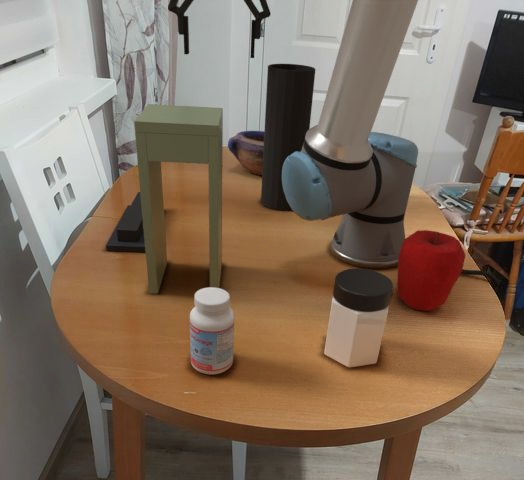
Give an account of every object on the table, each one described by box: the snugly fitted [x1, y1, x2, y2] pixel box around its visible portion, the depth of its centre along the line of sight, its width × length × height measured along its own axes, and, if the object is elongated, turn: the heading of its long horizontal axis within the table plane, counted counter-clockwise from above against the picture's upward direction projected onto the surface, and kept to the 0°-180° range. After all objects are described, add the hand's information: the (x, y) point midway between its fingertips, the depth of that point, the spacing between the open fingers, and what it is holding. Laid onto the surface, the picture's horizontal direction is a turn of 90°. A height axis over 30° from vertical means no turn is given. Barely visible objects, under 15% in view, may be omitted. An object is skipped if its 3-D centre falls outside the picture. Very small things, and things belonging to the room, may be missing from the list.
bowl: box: [227, 130, 265, 176], centre depth 146 cm, size 18×18×10 cm
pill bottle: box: [189, 286, 235, 375], centre depth 71 cm, size 6×6×11 cm
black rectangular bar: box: [117, 191, 144, 242], centre depth 111 cm, size 22×4×2 cm, turn 0°
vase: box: [260, 63, 316, 211], centre depth 120 cm, size 10×10×30 cm
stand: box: [133, 103, 224, 295], centre depth 87 cm, size 12×12×28 cm
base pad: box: [105, 204, 146, 253], centre depth 111 cm, size 22×8×1 cm, turn 1°
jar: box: [323, 267, 394, 369], centre depth 75 cm, size 9×8×12 cm
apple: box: [396, 229, 466, 312], centre depth 87 cm, size 11×10×14 cm
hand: (219, 55), depth 108 cm, fingers open, 13 cm apart
